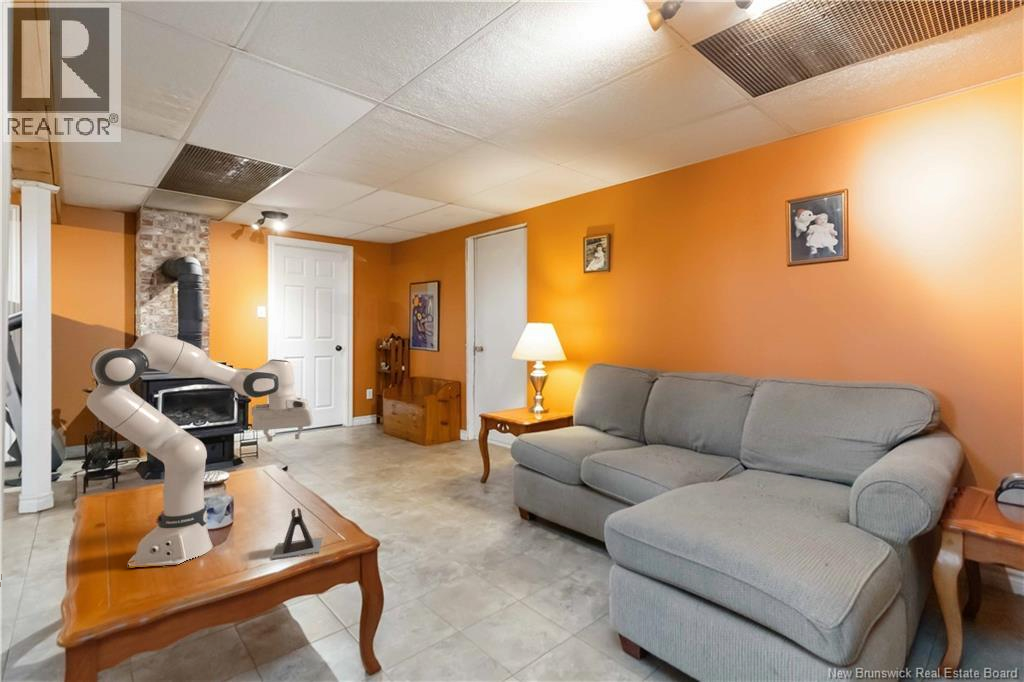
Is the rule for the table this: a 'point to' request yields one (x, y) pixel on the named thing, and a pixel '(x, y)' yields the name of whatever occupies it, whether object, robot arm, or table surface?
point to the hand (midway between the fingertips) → (283, 440)
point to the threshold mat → (279, 550)
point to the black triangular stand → (288, 539)
